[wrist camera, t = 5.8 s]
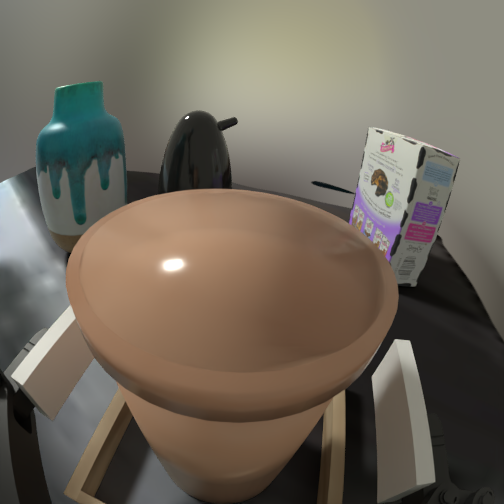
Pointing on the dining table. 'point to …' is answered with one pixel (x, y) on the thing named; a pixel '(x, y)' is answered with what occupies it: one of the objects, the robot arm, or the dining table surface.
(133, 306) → the canister
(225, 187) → the pump dispenser
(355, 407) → the dining table surface
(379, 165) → the candy box
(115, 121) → the vase
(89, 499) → the oak corral
